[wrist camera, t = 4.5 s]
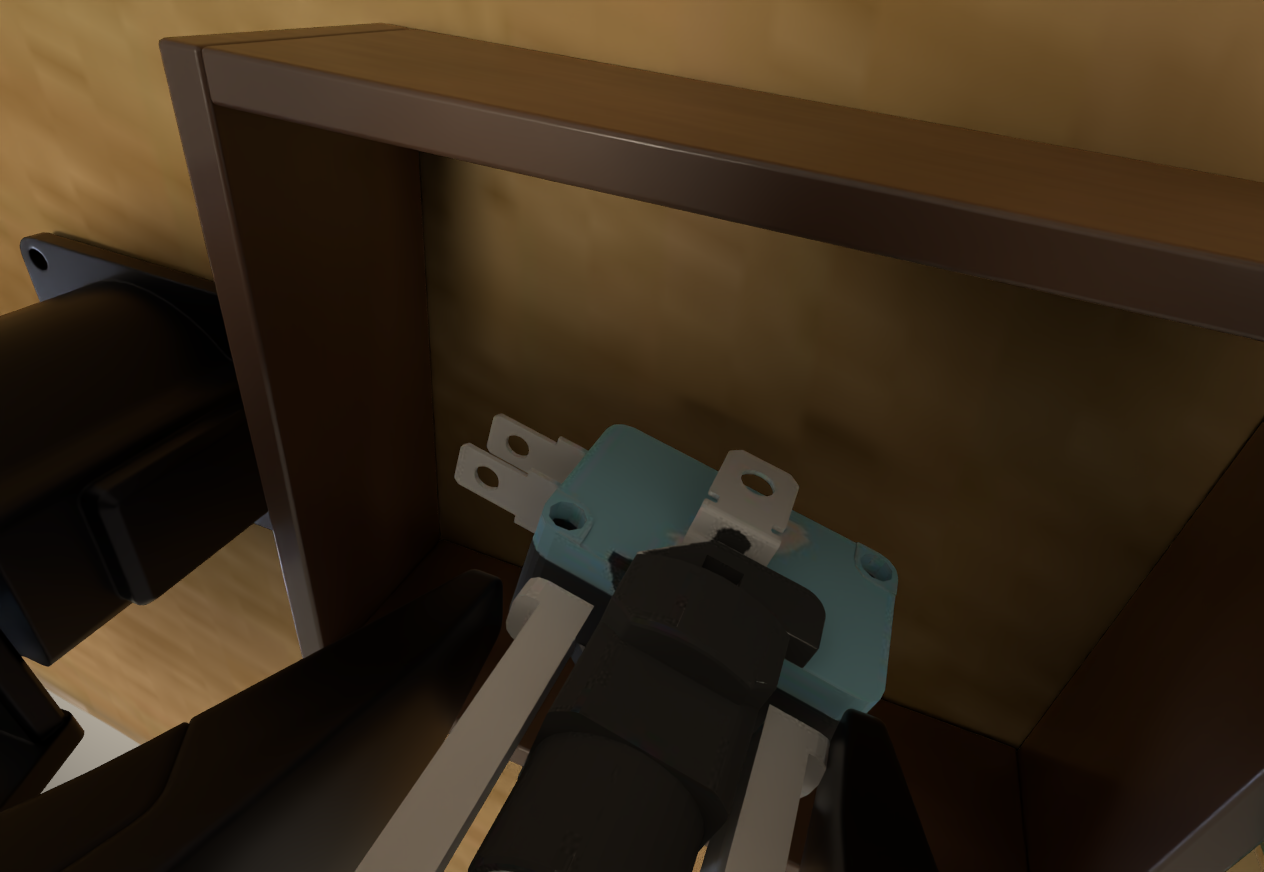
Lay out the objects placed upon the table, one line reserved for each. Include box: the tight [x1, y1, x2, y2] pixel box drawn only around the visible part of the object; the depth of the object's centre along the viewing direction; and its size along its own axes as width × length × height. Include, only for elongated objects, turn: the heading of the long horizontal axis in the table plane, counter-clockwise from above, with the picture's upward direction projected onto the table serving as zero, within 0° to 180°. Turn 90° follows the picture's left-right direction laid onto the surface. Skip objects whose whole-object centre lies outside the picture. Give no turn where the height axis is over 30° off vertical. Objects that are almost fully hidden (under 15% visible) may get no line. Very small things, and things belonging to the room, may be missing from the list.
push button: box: [355, 413, 898, 872], centre depth 7 cm, size 7×5×10 cm
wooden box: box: [159, 23, 1264, 872], centre depth 11 cm, size 14×11×4 cm
